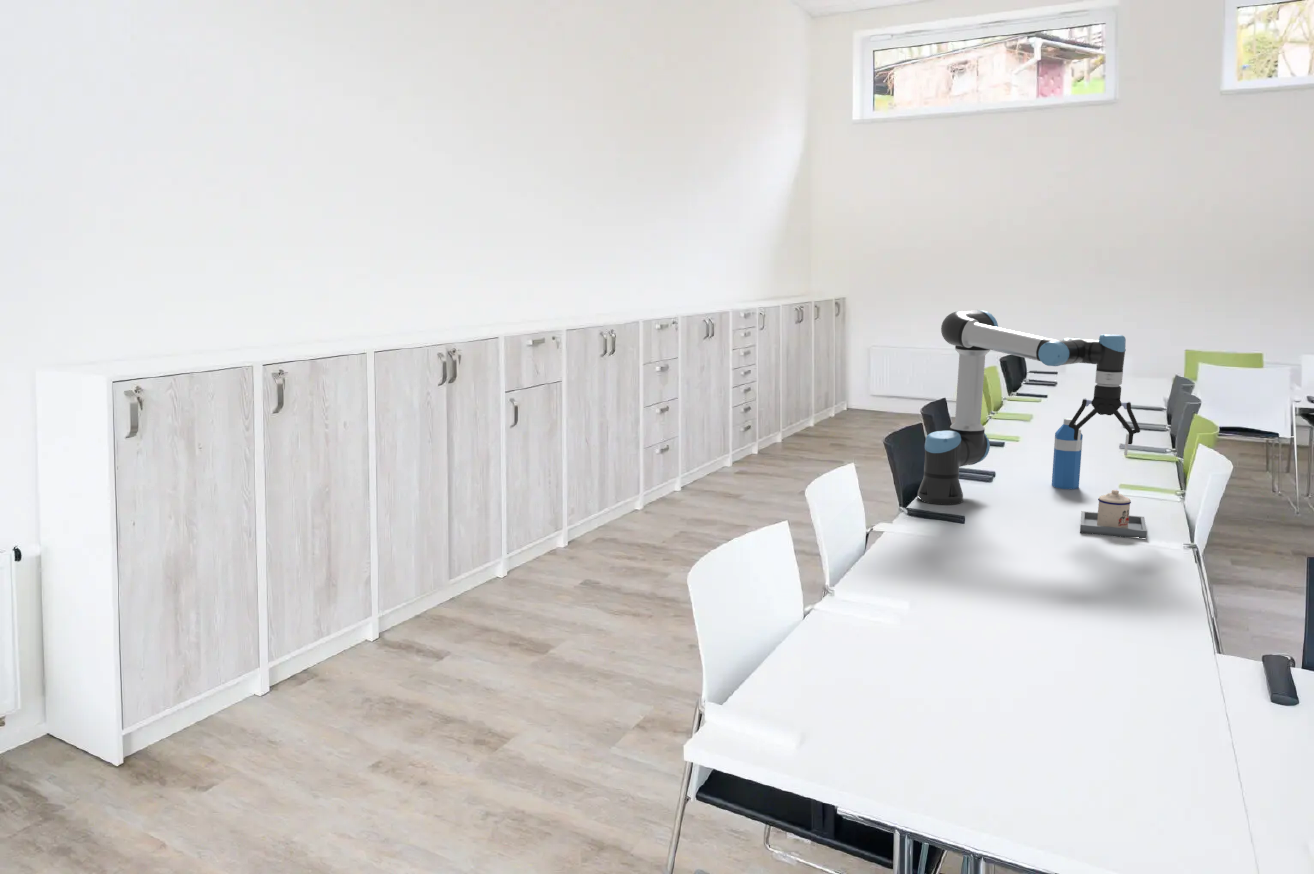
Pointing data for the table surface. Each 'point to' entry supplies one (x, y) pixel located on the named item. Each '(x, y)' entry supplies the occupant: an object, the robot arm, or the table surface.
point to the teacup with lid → (1113, 510)
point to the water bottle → (1066, 458)
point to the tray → (1090, 527)
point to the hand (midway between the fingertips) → (1101, 452)
